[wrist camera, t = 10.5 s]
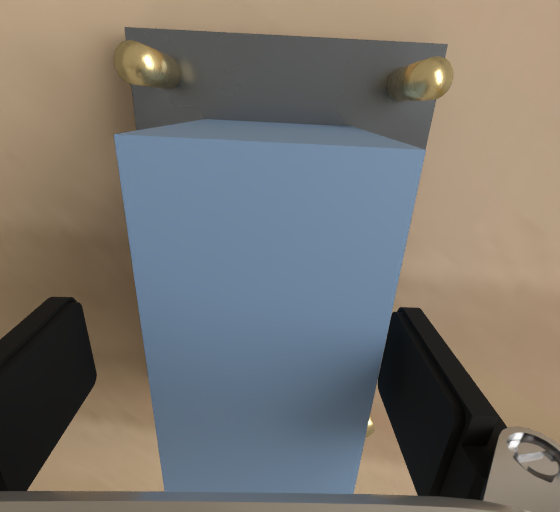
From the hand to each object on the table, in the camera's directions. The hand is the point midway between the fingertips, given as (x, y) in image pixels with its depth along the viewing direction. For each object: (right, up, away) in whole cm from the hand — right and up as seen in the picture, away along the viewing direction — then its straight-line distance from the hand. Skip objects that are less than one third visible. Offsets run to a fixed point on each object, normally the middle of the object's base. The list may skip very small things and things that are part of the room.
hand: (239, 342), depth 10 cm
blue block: (+1, +3, +6) cm, 6 cm away
